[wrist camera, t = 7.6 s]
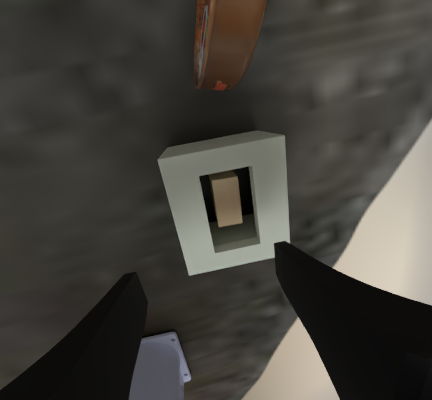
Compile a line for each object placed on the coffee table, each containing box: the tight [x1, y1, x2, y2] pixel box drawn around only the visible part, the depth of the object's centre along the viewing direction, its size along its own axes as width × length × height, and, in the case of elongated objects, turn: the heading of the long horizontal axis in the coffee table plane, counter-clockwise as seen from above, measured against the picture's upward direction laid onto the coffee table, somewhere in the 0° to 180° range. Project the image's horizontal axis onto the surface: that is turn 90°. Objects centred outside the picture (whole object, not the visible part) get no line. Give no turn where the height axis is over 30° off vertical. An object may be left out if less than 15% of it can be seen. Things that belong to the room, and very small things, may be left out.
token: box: [209, 170, 243, 227], centre depth 19 cm, size 4×2×4 cm, turn 8°
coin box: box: [158, 130, 290, 276], centre depth 17 cm, size 9×8×6 cm
